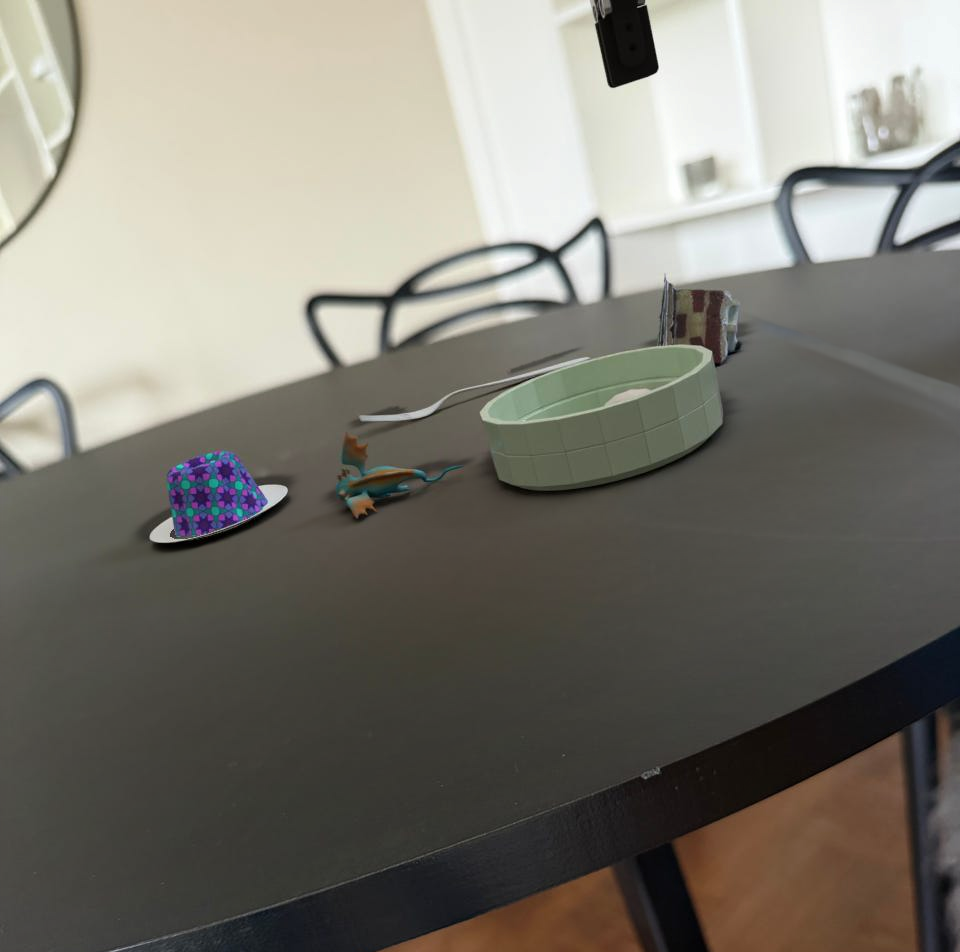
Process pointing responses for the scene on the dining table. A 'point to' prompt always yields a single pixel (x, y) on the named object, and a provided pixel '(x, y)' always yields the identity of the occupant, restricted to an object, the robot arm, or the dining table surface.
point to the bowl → (604, 418)
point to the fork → (434, 407)
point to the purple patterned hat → (213, 497)
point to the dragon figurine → (371, 478)
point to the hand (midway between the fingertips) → (633, 80)
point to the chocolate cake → (699, 320)
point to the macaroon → (627, 395)
